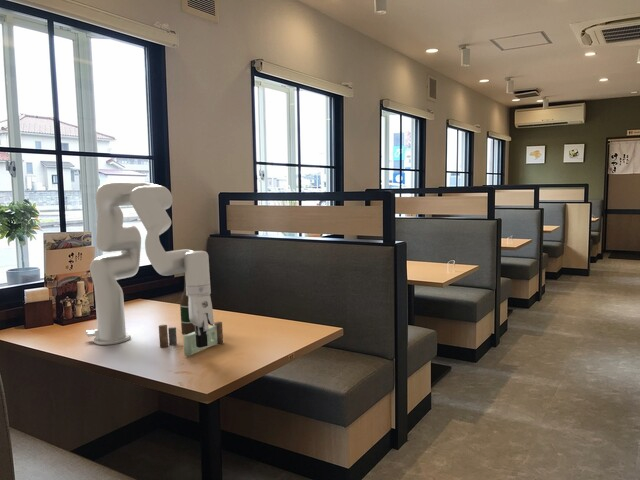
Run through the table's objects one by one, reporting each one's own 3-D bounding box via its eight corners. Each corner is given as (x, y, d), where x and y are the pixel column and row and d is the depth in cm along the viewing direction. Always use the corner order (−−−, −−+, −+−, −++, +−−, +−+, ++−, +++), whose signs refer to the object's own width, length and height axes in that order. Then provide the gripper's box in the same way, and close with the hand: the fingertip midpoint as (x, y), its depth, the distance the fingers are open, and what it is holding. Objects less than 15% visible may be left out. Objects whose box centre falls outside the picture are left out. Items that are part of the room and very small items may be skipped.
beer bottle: (196, 335, 189) (193, 272, 186) (177, 334, 190) (174, 272, 188) (205, 329, 196) (202, 268, 194) (187, 329, 198) (183, 268, 195)
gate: (188, 356, 163) (187, 336, 162) (182, 355, 164) (181, 336, 163) (218, 343, 175) (217, 325, 175) (212, 343, 176) (211, 325, 176)
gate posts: (159, 348, 174) (157, 326, 173) (161, 344, 178) (160, 323, 177) (222, 344, 176) (221, 323, 176) (223, 340, 180) (222, 320, 180)
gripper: (218, 291, 155) (222, 349, 157) (201, 285, 167) (204, 339, 169) (195, 295, 151) (199, 354, 152) (179, 288, 163) (182, 343, 165)
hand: (202, 346), depth 161 cm, fingers closed
